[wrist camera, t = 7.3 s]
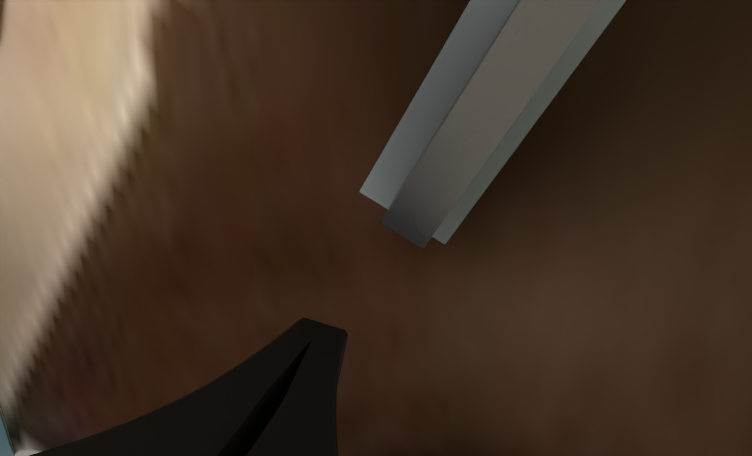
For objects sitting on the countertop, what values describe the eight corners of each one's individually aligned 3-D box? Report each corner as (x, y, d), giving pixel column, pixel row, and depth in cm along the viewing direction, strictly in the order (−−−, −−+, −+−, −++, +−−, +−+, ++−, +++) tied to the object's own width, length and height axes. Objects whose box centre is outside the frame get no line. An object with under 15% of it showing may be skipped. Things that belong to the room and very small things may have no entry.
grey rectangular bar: (395, 194, 10) (380, 222, 8) (529, -19, 8) (544, -38, 6) (431, 217, 10) (423, 249, 8) (575, 10, 8) (602, -2, 6)
